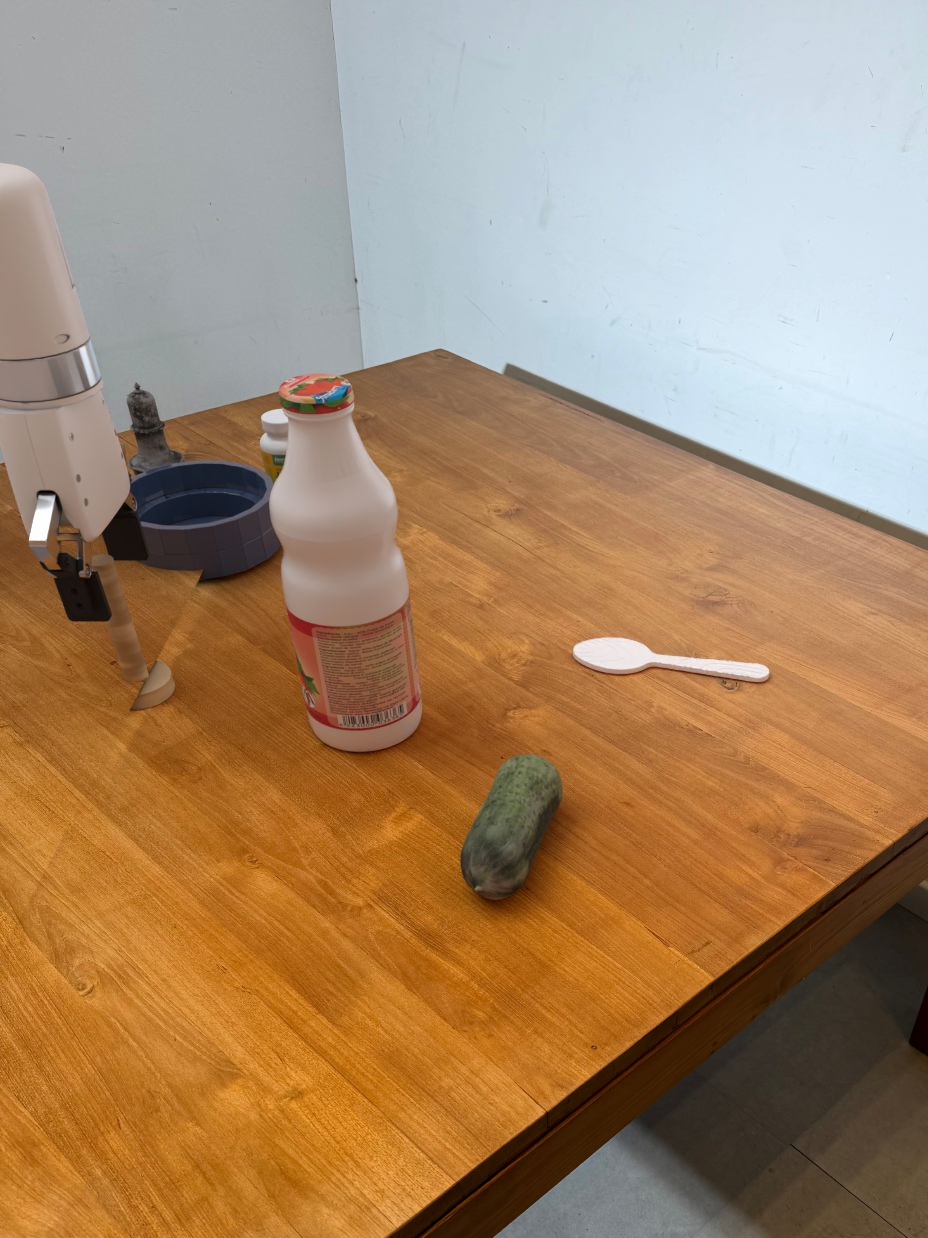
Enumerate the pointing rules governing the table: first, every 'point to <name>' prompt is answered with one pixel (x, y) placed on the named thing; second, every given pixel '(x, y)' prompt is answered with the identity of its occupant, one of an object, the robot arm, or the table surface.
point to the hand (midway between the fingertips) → (111, 588)
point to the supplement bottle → (274, 442)
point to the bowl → (206, 516)
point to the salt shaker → (148, 434)
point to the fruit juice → (343, 574)
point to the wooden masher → (131, 641)
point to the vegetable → (510, 826)
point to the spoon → (657, 660)
